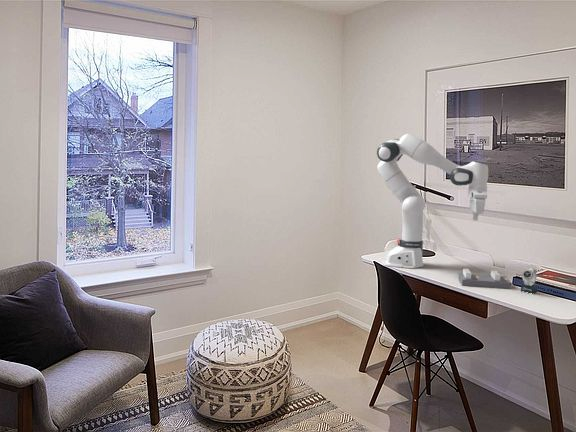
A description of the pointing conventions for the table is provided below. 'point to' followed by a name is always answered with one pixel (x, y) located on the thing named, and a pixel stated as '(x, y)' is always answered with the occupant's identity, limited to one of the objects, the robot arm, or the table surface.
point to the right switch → (495, 275)
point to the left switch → (467, 273)
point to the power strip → (484, 281)
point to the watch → (529, 281)
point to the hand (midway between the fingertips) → (475, 220)
